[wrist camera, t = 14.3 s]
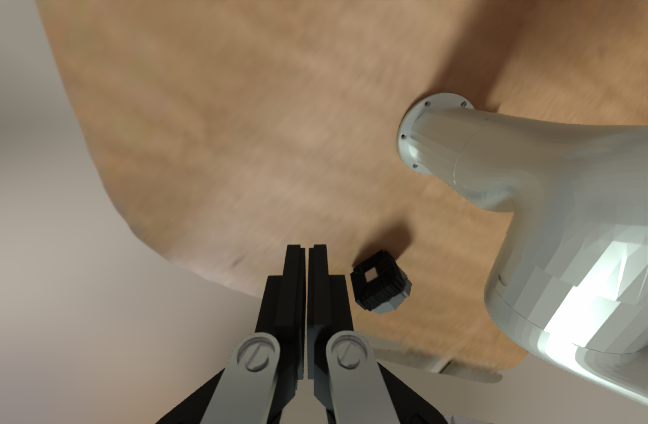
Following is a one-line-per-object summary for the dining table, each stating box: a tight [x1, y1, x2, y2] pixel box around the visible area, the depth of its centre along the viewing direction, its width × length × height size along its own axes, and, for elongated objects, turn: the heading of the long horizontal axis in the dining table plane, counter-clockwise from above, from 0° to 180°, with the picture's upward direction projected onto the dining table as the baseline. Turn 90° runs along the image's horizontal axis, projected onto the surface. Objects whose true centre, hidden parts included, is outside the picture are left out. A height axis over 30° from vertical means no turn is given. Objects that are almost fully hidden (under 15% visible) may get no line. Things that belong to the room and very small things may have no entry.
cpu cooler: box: [350, 250, 412, 314], centre depth 48 cm, size 10×6×10 cm, turn 131°
